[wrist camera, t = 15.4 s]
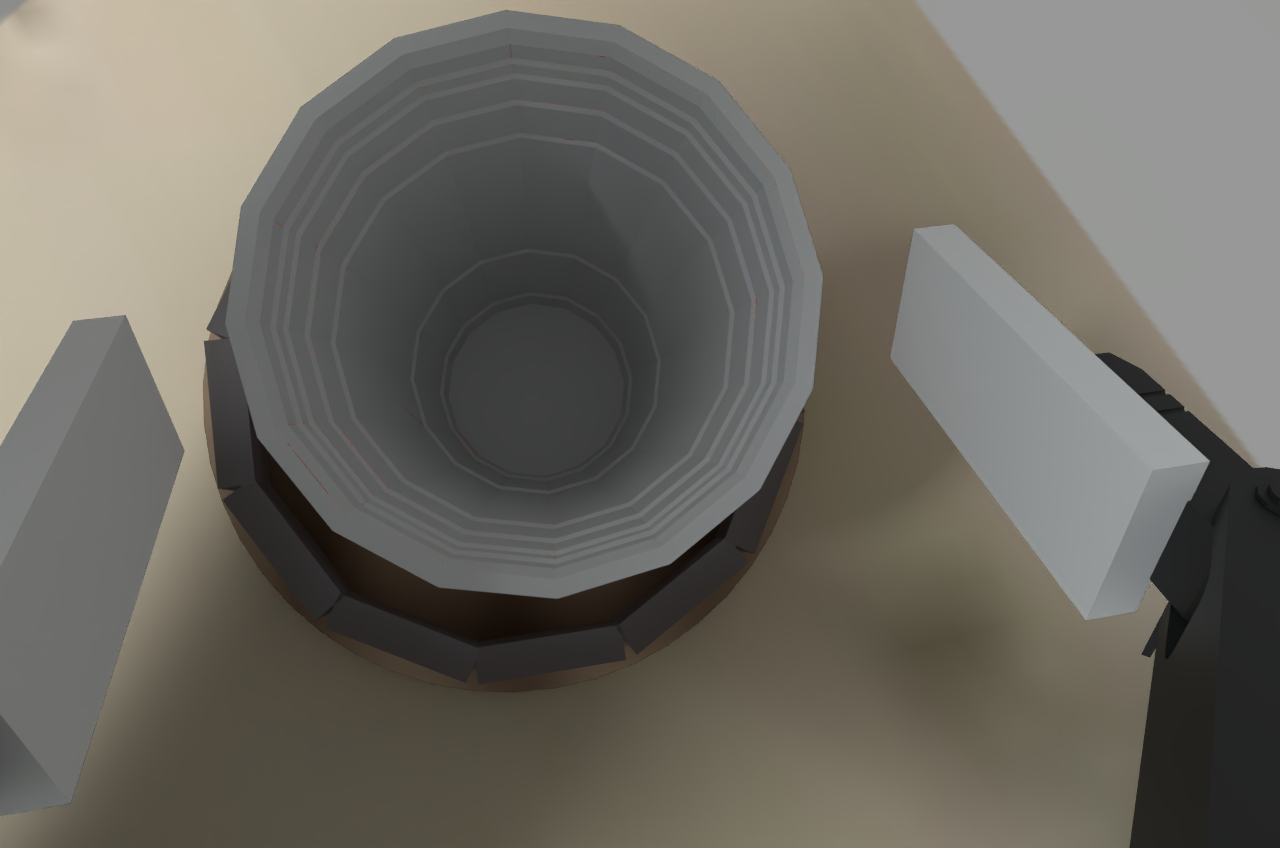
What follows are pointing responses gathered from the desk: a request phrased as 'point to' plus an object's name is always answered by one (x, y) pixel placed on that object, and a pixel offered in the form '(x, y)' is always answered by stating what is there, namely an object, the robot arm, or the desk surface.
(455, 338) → the plastic cup
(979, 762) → the desk surface
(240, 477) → the cup holder
